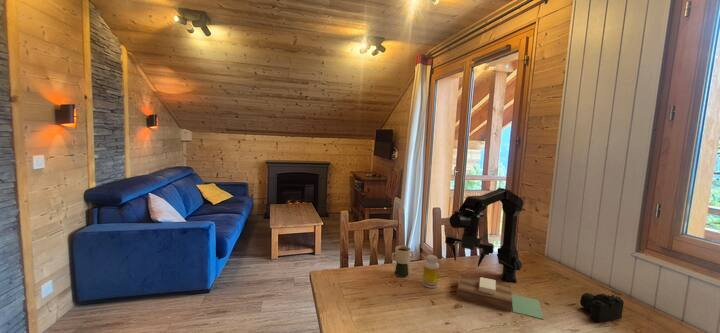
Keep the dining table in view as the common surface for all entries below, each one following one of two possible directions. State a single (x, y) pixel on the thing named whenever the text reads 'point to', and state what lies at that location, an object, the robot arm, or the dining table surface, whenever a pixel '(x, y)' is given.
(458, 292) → the deck
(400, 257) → the character mug
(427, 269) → the supplement bottle
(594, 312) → the film camera
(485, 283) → the white rectangular block
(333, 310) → the dining table surface
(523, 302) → the mat
